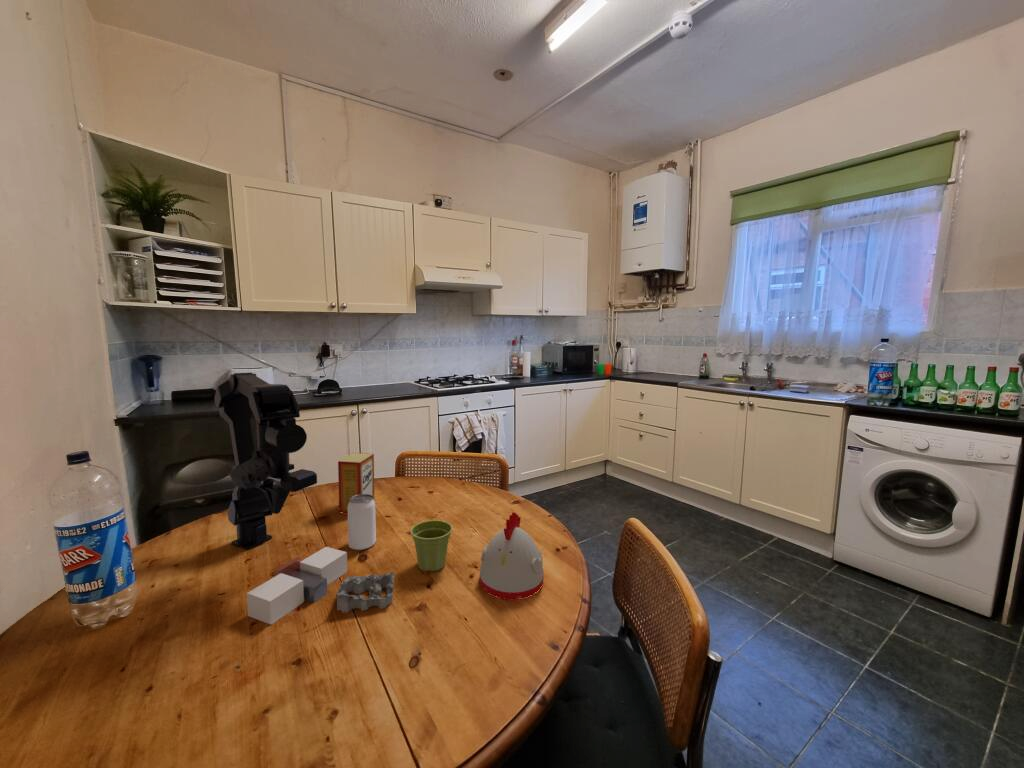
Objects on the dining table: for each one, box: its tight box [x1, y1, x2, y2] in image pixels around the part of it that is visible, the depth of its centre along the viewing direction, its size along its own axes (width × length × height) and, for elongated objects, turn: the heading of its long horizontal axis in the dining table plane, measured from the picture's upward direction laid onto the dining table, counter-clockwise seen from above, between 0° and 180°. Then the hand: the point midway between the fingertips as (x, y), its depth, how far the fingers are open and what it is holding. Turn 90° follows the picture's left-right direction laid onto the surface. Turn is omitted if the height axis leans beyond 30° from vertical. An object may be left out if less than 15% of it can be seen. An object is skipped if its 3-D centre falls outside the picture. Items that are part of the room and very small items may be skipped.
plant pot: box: [410, 519, 453, 572], centre depth 93 cm, size 9×9×9 cm
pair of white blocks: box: [246, 546, 348, 625], centre depth 82 cm, size 6×18×4 cm, turn 158°
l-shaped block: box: [274, 556, 328, 603], centre depth 82 cm, size 9×5×5 cm, turn 68°
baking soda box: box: [337, 452, 375, 513], centre depth 123 cm, size 10×6×16 cm
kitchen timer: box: [479, 511, 545, 600], centre depth 87 cm, size 14×14×15 cm
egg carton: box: [335, 571, 395, 614], centre depth 80 cm, size 11×8×4 cm
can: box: [347, 494, 377, 551], centre depth 101 cm, size 6×6×12 cm
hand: (276, 513), depth 89 cm, fingers closed
